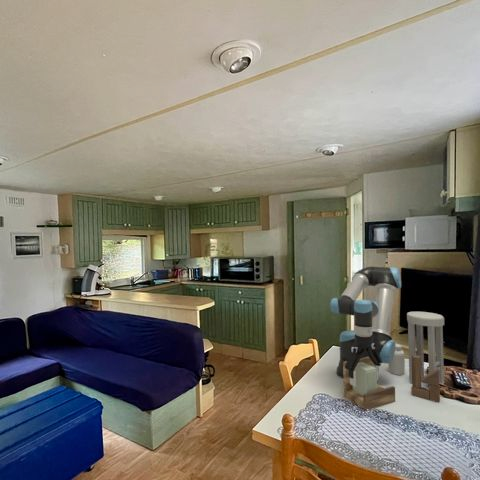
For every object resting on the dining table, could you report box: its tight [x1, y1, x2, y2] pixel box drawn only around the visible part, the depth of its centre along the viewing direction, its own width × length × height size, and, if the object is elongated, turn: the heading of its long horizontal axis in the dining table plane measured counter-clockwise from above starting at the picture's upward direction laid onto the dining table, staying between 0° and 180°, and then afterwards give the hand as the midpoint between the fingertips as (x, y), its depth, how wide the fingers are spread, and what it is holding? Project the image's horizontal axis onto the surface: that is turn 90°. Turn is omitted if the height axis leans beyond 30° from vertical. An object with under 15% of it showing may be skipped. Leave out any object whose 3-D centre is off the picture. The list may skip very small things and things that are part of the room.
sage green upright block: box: [353, 362, 378, 396], centre depth 130 cm, size 8×6×12 cm
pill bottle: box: [387, 343, 406, 376], centre depth 160 cm, size 8×8×15 cm
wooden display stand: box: [342, 357, 396, 411], centre depth 131 cm, size 13×18×16 cm
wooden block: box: [410, 354, 441, 403], centre depth 133 cm, size 4×11×18 cm, turn 51°
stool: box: [406, 311, 445, 385], centre depth 146 cm, size 16×16×35 cm
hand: (364, 382), depth 130 cm, fingers open, 13 cm apart
